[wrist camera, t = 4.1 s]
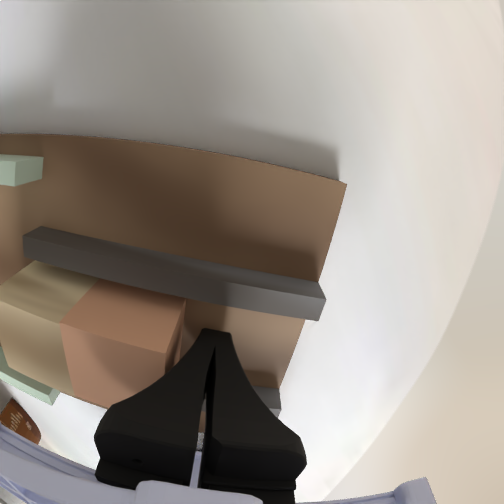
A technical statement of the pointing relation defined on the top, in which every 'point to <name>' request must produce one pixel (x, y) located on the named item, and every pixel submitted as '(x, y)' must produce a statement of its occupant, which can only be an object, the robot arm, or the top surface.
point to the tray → (11, 174)
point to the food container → (23, 426)
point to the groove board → (181, 236)
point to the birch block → (39, 320)
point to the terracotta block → (121, 340)
